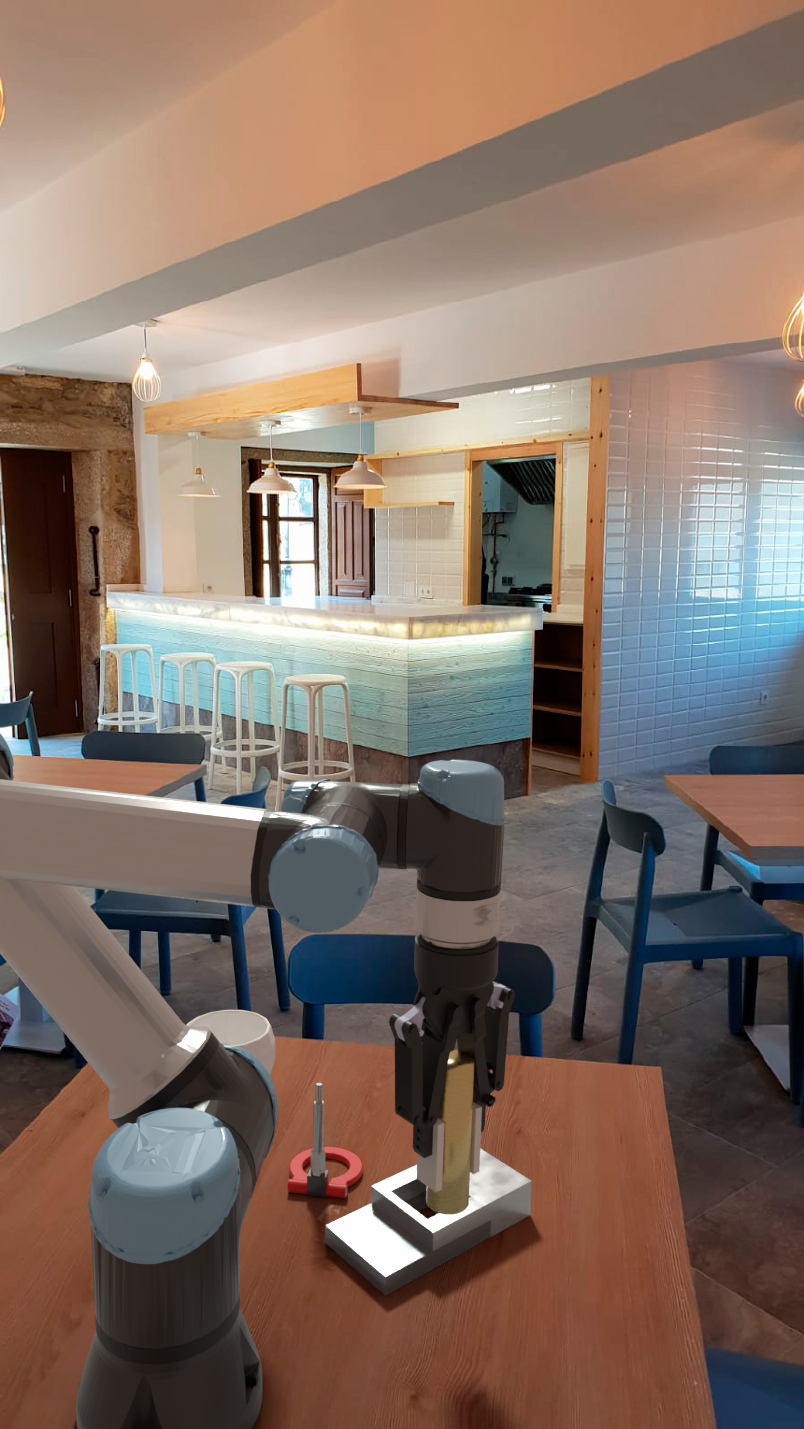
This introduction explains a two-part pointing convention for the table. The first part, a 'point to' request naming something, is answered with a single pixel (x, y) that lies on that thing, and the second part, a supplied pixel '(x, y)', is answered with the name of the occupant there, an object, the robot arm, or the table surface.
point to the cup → (242, 1032)
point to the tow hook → (322, 1162)
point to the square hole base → (425, 1224)
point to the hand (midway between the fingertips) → (448, 1174)
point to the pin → (455, 1136)
